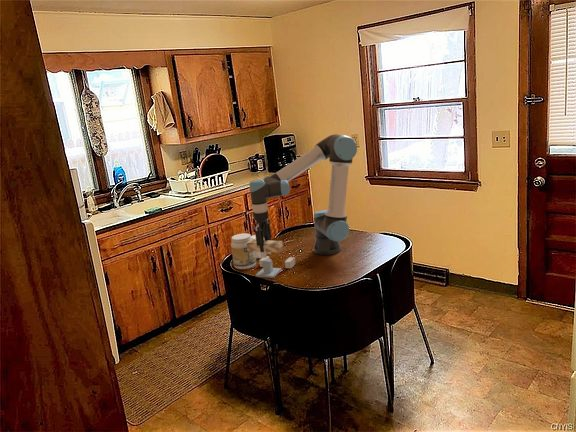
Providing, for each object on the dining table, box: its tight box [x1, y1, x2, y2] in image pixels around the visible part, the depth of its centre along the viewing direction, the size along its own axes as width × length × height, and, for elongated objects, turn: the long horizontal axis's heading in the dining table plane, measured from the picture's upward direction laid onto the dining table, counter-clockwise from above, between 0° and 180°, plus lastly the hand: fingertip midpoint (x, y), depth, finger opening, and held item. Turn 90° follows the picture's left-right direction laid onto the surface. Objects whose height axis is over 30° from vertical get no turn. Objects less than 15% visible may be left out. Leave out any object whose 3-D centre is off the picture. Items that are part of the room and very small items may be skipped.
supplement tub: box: [230, 233, 257, 270], centre depth 250 cm, size 12×12×17 cm
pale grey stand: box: [255, 259, 282, 279], centre depth 237 cm, size 10×10×7 cm
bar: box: [247, 239, 284, 253], centre depth 234 cm, size 18×4×4 cm, turn 66°
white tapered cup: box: [251, 234, 262, 259], centre depth 262 cm, size 8×8×12 cm
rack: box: [258, 255, 296, 269], centre depth 247 cm, size 18×6×4 cm, turn 66°
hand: (266, 255), depth 235 cm, fingers closed on bar, 4 cm apart
